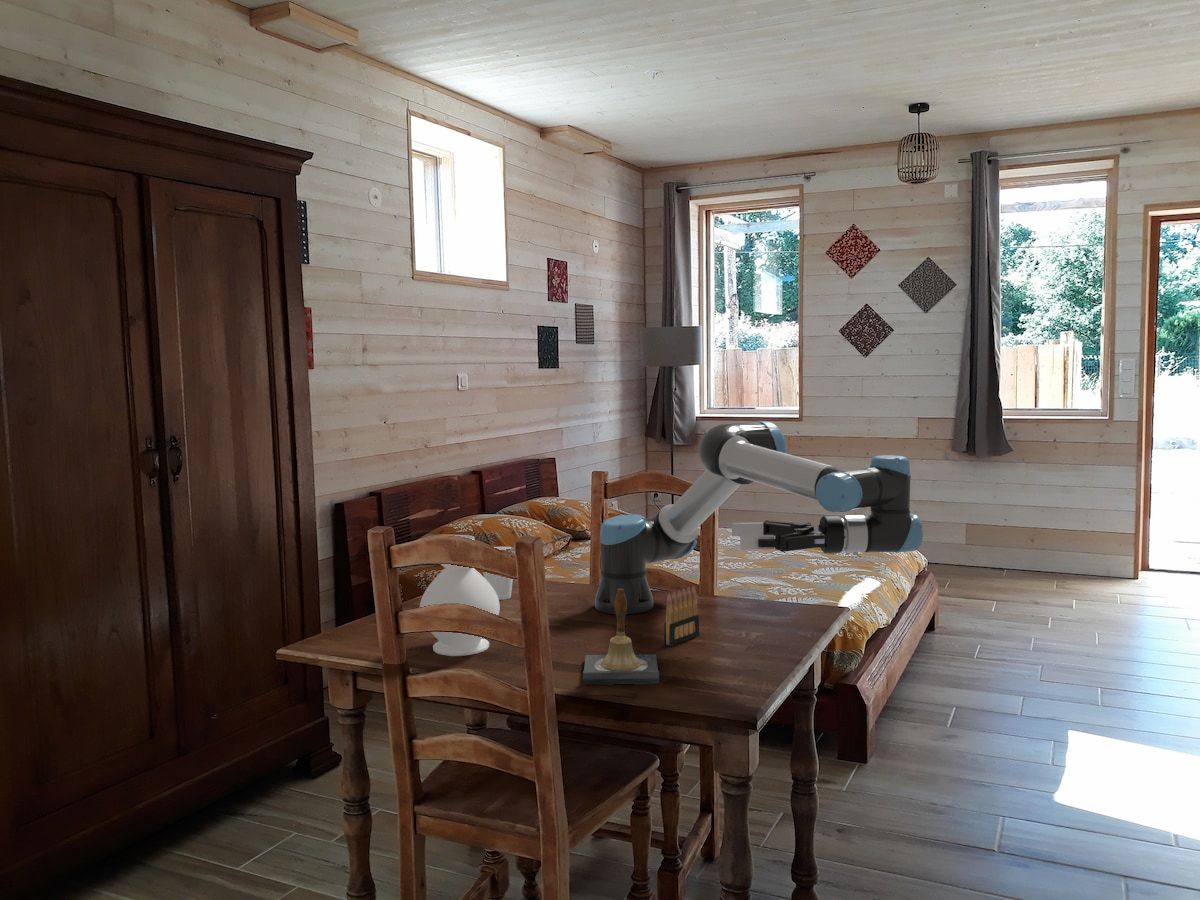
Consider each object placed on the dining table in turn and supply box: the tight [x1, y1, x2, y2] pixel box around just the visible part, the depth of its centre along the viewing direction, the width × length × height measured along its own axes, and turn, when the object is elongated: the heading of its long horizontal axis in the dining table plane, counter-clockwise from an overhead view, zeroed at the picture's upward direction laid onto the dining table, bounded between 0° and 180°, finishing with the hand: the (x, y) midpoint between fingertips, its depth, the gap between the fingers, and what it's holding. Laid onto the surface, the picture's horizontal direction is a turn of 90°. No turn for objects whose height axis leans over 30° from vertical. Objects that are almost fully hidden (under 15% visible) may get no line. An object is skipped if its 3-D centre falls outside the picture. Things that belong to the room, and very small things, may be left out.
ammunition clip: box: [663, 584, 700, 647], centre depth 211 cm, size 11×2×12 cm, turn 136°
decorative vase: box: [419, 534, 501, 657], centre depth 208 cm, size 18×18×25 cm
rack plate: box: [582, 653, 660, 686], centre depth 191 cm, size 15×15×2 cm
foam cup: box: [482, 546, 514, 601], centre depth 253 cm, size 10×9×13 cm
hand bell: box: [601, 588, 641, 671], centre depth 190 cm, size 8×8×16 cm
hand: (735, 535), depth 188 cm, fingers open, 13 cm apart
